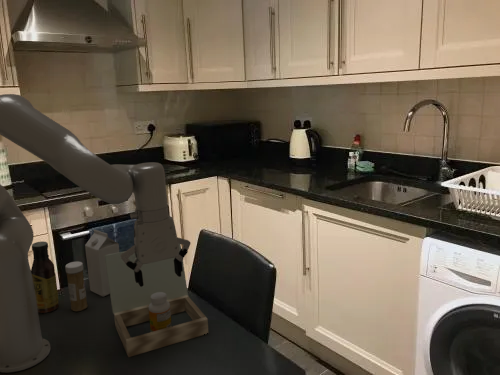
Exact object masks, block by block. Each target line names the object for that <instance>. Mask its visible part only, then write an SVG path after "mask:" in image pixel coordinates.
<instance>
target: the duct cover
mask: <svg viewBox="0 0 500 375" xmlns="http://www.w3.org/2000/svg"><path fill="white" fill-rule="evenodd" d="M178 245H179V251H180V250H181V249H182V244H179V243H178ZM126 251H127V250H125V251H119V253H114V254H108V255H104V256H105V263H106V269H107V276H108V283H109V290H110V294H109V296H110V301H111V302H110V303H111V311H112V314H113V315H114V313H118V312H122V311H126V310H130V309H134V308H138V307H142V306H146V305H150V303H151V295H152V294H154V293H157V292H163V293H166V295H167V300H170V299H174V298H178V297H182V296H186V295H188V296H189V293H188V287H187V286H188V285H187V279H186V272H185V265H184V260H183V261H182V269H183V271H182V272H181V277H178V276H177V275H176V273H175V268H174V258H175V257H174V258H170V259H166V260H162V261H157V262H153V263H149V264H143V265H142V267H141V268H140V270H141V271H142V276H143V285H144V286H142V287H140V285H139V284H138V283H136V281H135V275H134V270H132V269H131V268H129V267H128V266H127V265H126V264H125V263H124V261H123V260H122V259H121V257H120V256H121V255H122V254H123V253H124V252H126ZM129 260H130V261H131V262H133V263H134V261H135V260H136V256H135V253H134V254H133V255H131V256H130V257H129Z"/></svg>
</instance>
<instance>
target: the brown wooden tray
mask: <svg viewBox="0 0 500 375" xmlns="http://www.w3.org/2000/svg"><path fill="white" fill-rule="evenodd" d="M167 301H168V302H169V303H170V311H171V316H172V315H175V314H176V315H177V314H180V313H183V312H186V314H187V315H188V316H189V317H190V319H191V320H190V321H186V322H183V323H178V324H175V325H173V326H172V327H168V328H164V329H161V330H157V331H154V332H151V331H150V332H147V333H144V334H139V335H136V336H133V337H132V336H131V334H130V332H129V331H128V329H127V327H131V326H134V325H139V324H142V323H145V322H150V319H149V305H146V306H142V307H138V308H134V309H130V310H126V311H122V312H118V313H114V314H113V315H114V324H115V326H114V327H115V329H116V331H117V332H116V333H118V336H119V338H120V341H121V344H122V346H123V349H124V350H125V352H126V355H127V357H128V358H132V357H134V356H137V355H141V354H144V353H147V352H150V351H154V350H158V349H161V348H163V347H167V346H171V345H174V344H177V343H180V342H181V343H182V342H184V341H187V340H188V341H189V340H191V339H194V338H198V337H201V336H204V334H205V335H207V333H208V334H209V323H208V322H209V321H208V320H209V318H207V316H206V315H205V313H204V312H202V310H201V309H200V308H199V307H198V305H196V303H195V302H194V301H193V300H192V299H191V298H190V296H189V294H188V295H186V296H182V297H178V298H174V299H170V300H167Z"/></svg>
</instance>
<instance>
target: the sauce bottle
mask: <svg viewBox="0 0 500 375" xmlns="http://www.w3.org/2000/svg"><path fill="white" fill-rule="evenodd" d="M48 249H49V244H48V242H47V241H36V242H34V243H32V244H31V251H32V254H33V258H32V259H33V260H32V265H31V267H30V269H31V273H32V278H33V283H34V290H35V296H36V302H37V309H38V314H39V313H41V314H46V313H51V312H53V311H55V310H58V308H59V293H58V292H59V291H58V284H57V276H56V272H55V271H56V270H55V264H54V262H53V261H52V260H51V259H50V258H49V257H50V255H49V250H48Z"/></svg>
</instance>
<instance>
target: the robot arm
mask: <svg viewBox="0 0 500 375" xmlns="http://www.w3.org/2000/svg"><path fill="white" fill-rule="evenodd" d="M0 136H2V137H3V138H5V139H7V140H8V141H10V142H12V143H13V144H16V145H17V146H19V147H21V149H23V150H24V151H27V152H29V153H30V154H32V155H33V156H35V157H37V158H39V159H40V160H42V161H43V162H45V163H46V164H48V165H50V167H51V168H53V169H54V170H55V171H57V172H58V173H59V174H61V175H62V176H64V177H65V178H67V179H68V180H69V181H70V182H72V183H73V184H75V185H76V186H78V187H79V188H81V189H82V190H84V191H86V192H88V193H89V194H91V195H92V196H94V197H96V198H97V199H99V200H101V201H103V202H105V203H108V204H111V205H119V204H123V203H125V202H126V201H128V200H129V199H130V198H131V197H132V194H133V196H134V204H135V210H134V211H133V212H130V214H129V216H130V219H131V220H133V219H135V221H134V225H133V245H132V246H131V247H130V248H128V249H127V250H125V251H126V252H124V251H123V252H124V253H123V254H122V255H121V256H120V257H121V259H122V260H123V261H124V263H125V264H126V265H127V266H128V267H129V268H131V269H132V270H134V275H135V281H136V283H138V284H139V285H140V287H142V286H144V285H143V276H142V271H141V270H140V268H141V267H142V265H143V264H149V263H153V262H157V261H162V260H166V259H170V258H174V257H175V258H174V268H175V273H176V275H177V276H178V277H181V272H182V271H183V269H182V261H183V262H184V258H185V256H186V255H187V254H188V252H189V249H190V247H191V241H190V240H188V239H184V238H181V237H178V235H177V234H178V233H177V230H176V226H175V222H174V218H173V217H172V216H170V214H169V206H168V196H167V195H168V194H167V184H166V177H165V176H166V174H165V168H164V166H163V164H161V163H159V162H153V161H152V162H142V163H137V164H122V163H121V164H120V163H119V164H116V163H115V164H110V163H108V162H107V161H105V160H104V159H103V158H101V157H100V156H98V155H97V154H95V153H94V152H92V151H91V150H89V148H87V147H86V146H85V145H84V144H83V143H82V141H81V140H80V139H79V138H78V137H77V136H76V134H74V133H73V132H72V131H71V130H69V129H67V128H66V127H64V125H61V124H60V123H58V122H57V121H55V120H53V119H52V118H50V117H49V116H47V115H46V114H44V113H43V112H41V111H40V110H38V109H36V108H35V107H34V105H33V104H32V103H31V102H30V101H29V100H28V99H27V98H25V97H24V96H22V95H19V94H15V93H6V94H5V93H4V94H0ZM34 236H35V235H34V230H33V227H32V225H31V224H30V222H29V221H28V219H27V217H26V216H25V214H24V213H23V212H22V210H21V209H20V207H19V206H18V204H17V203H16V201H15V200H14V199H13V197H12V196H11V194H10V193H9V191H8V190H7V189H6V187H4V186H3V184H1V183H0V373H15V372H21V371H24V370H26V369H30V368H32V367H34V366H36V365H38V364H40V363H41V362H42V361H44V360H45V359H46V358H47V356H49V354H50V352H51V343H50V341H49V340H47V339H45V338H43V337H42V330H41V325H40V317H39V312H38V309H37V302H36V296H35V290H34V283H33V278H32V273H31V266H30V262H29V251H30V249H31V247H32V244H33V241H34ZM178 243H179V244H181V246H182V247H181V250H180V251H179V245H178ZM134 253H135V256H136V260H135V261H134V263H133V262H131V261H130V260H129V257H130V256H131V255H133V254H134Z"/></svg>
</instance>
